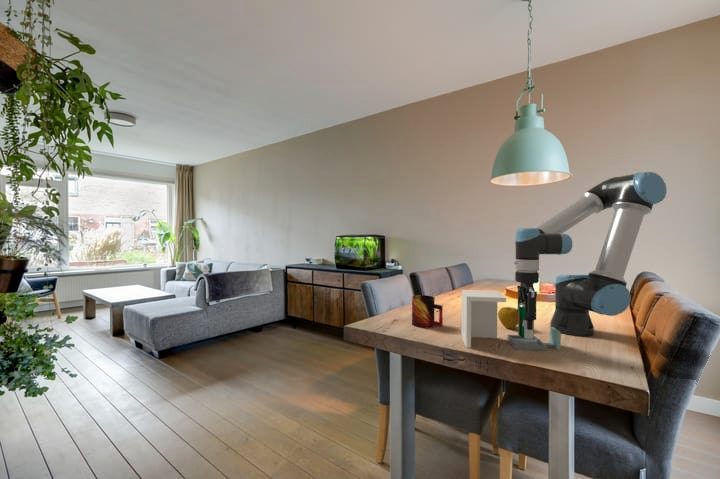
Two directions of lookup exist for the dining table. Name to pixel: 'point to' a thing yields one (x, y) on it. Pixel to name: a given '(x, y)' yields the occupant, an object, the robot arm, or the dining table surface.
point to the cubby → (479, 314)
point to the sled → (536, 341)
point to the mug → (425, 312)
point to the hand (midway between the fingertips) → (526, 335)
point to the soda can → (520, 319)
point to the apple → (508, 317)
